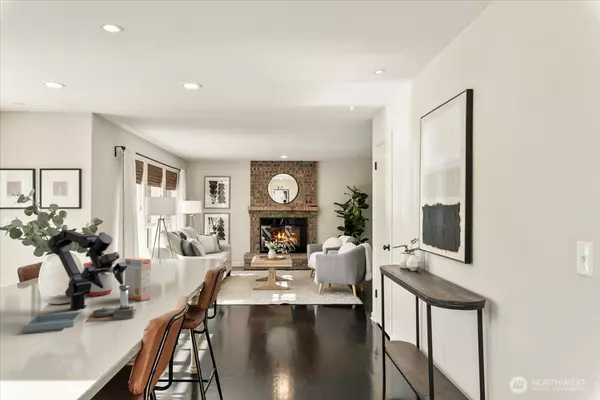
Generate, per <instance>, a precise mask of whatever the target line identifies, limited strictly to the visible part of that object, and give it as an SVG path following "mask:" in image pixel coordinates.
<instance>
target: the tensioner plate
mask: <svg viewBox="0 0 600 400" xmlns="http://www.w3.org/2000/svg"><path fill="white" fill-rule="evenodd" d="M134 308H135V307H134V305H128V309H126V310H120V306H116V307H108V306H104V307H102V308H98V309H95V310H93V311H92V312H91V313H90V314H89V315H88V316H87V318H86V320H85V321H84V323H86V324H87V323H94V322H96V323H97V322H107V321H119V320H131V319H134V318H135V315H136V311H137V309H136V308H135V309H134Z"/></svg>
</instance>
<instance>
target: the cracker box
mask: <svg viewBox="0 0 600 400" xmlns="http://www.w3.org/2000/svg"><path fill="white" fill-rule="evenodd" d="M124 262H125V263H126V264H127V268H126V269H125V270H124V285H130V288H129V289H128V300H133V301H138V302H143V301H148V300H150V299H151V270H152V269H151V268H152V265H151V264H152V259H151V258H146V257H145V258H143V257H127V258H125V260H124Z"/></svg>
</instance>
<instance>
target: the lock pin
mask: <svg viewBox="0 0 600 400" xmlns="http://www.w3.org/2000/svg"><path fill="white" fill-rule="evenodd" d="M129 288H130V285H125V284H122V285H121V284H120V285H119V286H118V290H119V291H120V296H119V297H120V301H119V307H120V310H126V309H128V306H129V299H128V289H129Z"/></svg>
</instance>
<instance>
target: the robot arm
mask: <svg viewBox="0 0 600 400" xmlns="http://www.w3.org/2000/svg"><path fill="white" fill-rule="evenodd" d="M113 241H114V239H113V237H112V236H111V235H110V234H108V233H105V231H104V232H99V234H84V233H80V232H77V231H75V230H73V229H63V230H61V231H60V232H59V233H57V234H56V235H53V236H52V237H51V239H50V240H49V241H48V244H47V245H48V246H47V247H48V248H49V249H50V251H51V253H53V254H54V255H56V256H58V258H59V260H60V262H61V264H62V267H63V268H64V270H65V272H66V274H67V276H68V278H69V280H68V286H67V289H66V290H65V291H64V292H65V297H68V298H70V303H69V304H70V305H69V306H70V307H69V308H67V311H78V310H85V309H86V307H87V304H85V303H86V302H85V301H86V299H85V298H86V296H85V295H87V294H89V293H90V289H91V283H93V284H95V285H97V286H98V287H100V288H101V289H102V288H103V284H102V282H101V280H100V278H99V276H98V273H107V272H113V274H114V279H116V280H117V282H118V283H119V284H120V286H121V285H124V275H123V273H125V269H126V268H127V264H126V263H125V261H124V262H123V261H121V262H117V263H115V267H111V265H112V264H113V262H115V261H117V260H119V259H120V254H119V252H118V251H115V252H112V253H106V254H105V251H107V250H108V249H109V247H110V246H111V244H112V243H113ZM72 243H76V244H78V246H79V247H80V248H81V249H88V250H87V251H86V253H85V257H86V258H88V257H89V259H90V262H92V264H91V265H92V266H91V267H86V268H85V269H84V268H83V270H84V271H82V272H81V271H80V269H79V267H78V265H77V263H76V261H75V259H74V256H73V255H72V253H71V244H72Z"/></svg>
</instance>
